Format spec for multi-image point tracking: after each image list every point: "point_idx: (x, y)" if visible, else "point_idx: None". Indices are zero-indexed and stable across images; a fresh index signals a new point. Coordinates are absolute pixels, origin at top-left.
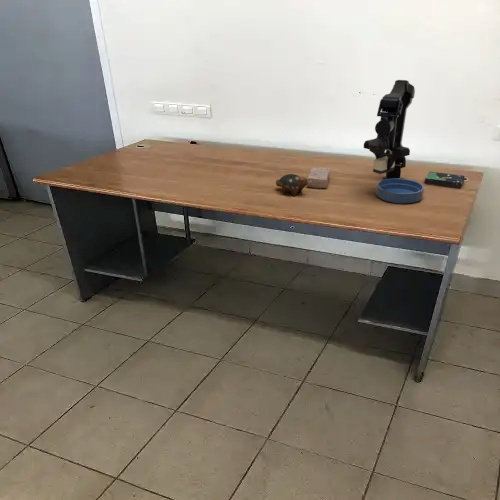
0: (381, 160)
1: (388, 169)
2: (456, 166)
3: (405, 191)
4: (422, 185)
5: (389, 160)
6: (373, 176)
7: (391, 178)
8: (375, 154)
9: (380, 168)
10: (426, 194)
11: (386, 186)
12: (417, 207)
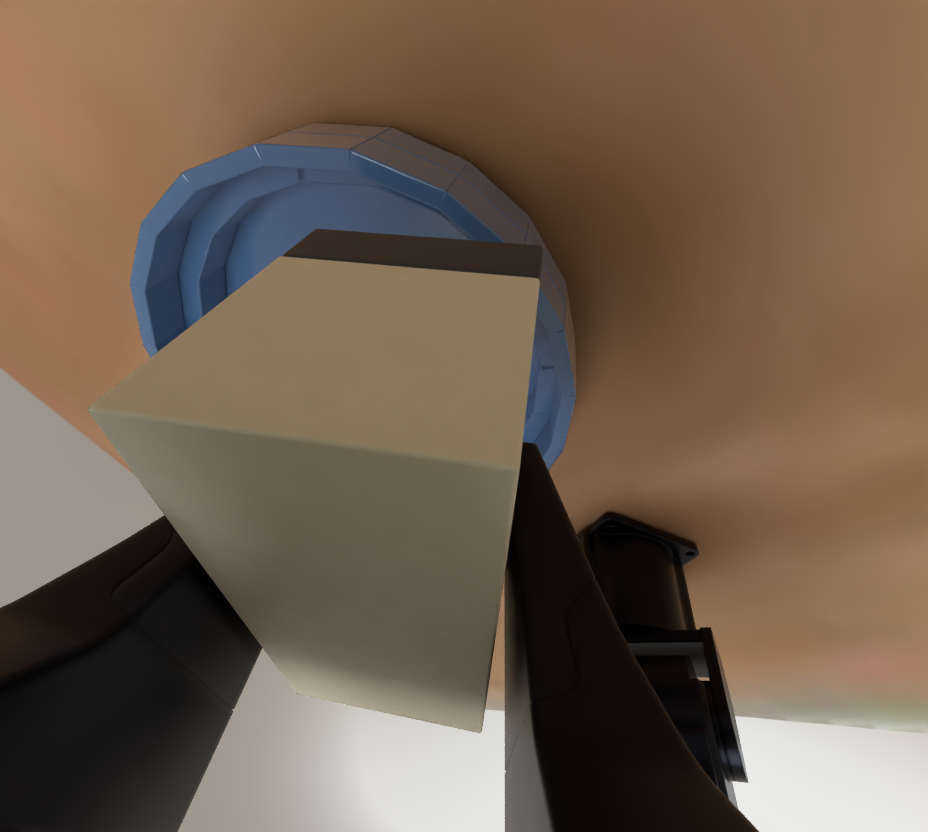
0: (269, 522)
1: None
2: (491, 704)
3: None
4: None
5: (102, 576)
6: (777, 542)
7: (614, 543)
8: (651, 780)
9: (268, 283)
10: None
11: (533, 400)
12: (126, 236)
